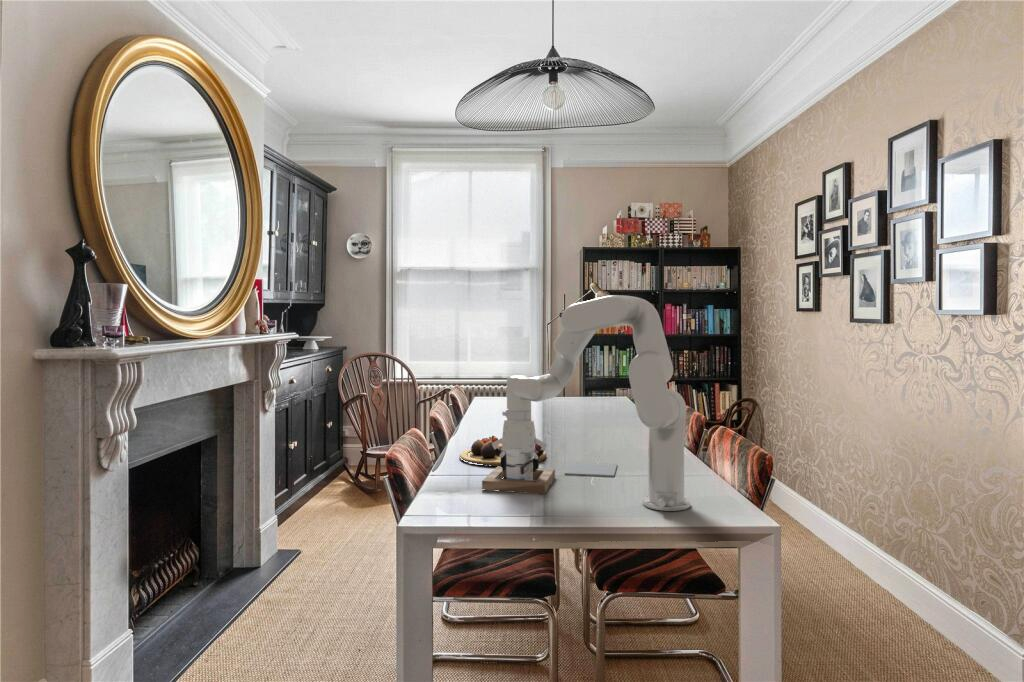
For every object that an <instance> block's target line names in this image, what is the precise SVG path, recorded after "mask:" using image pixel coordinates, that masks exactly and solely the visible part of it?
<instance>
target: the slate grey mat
mask: <svg viewBox="0 0 1024 682" xmlns="http://www.w3.org/2000/svg"><path fill="white" fill-rule="evenodd" d="M617 468H618V464H617V463H605V462H604V463H603V462H577V461H576V462H575V461H571V462H570V463H569V465H568V467H567V468H566V470H565V471H564V475H565V474H567V475H566V476H580V475H585V476H587V477H602V476H605V477H606V478H607V477H609V478H613V477H615V475H616V470H617ZM605 477H604V478H605Z"/></svg>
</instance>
